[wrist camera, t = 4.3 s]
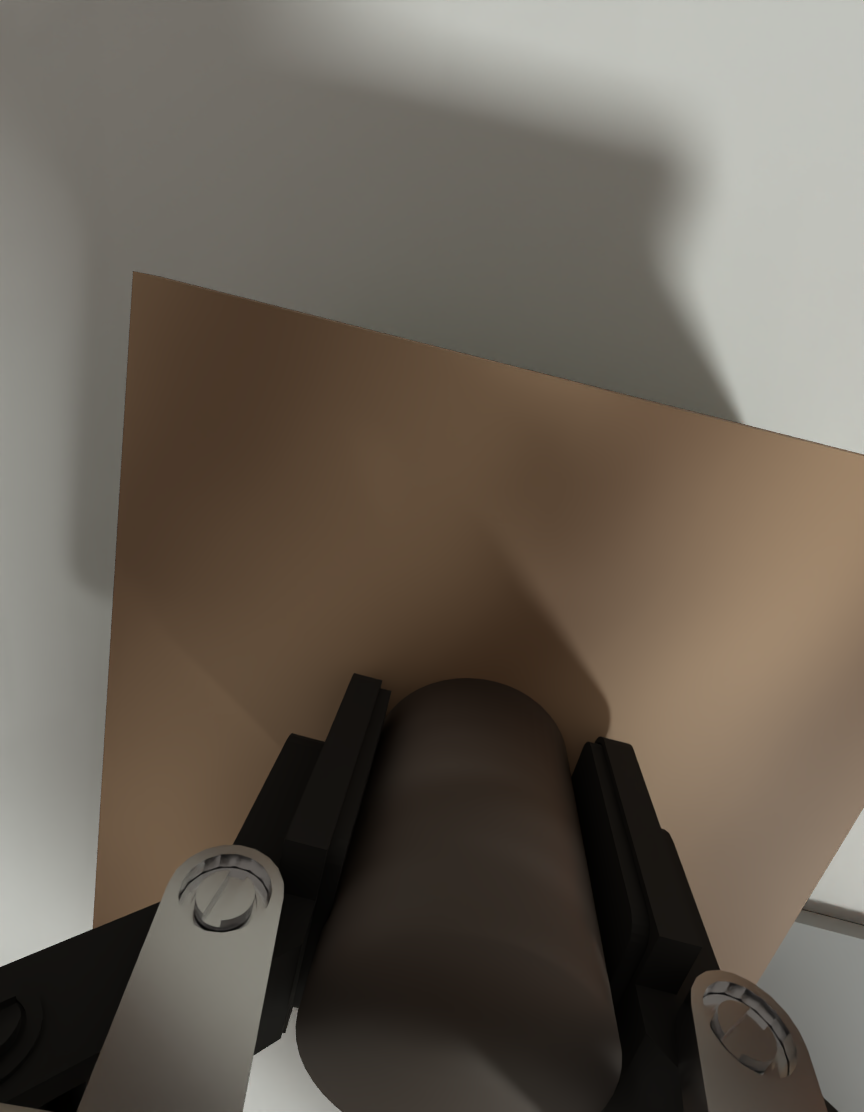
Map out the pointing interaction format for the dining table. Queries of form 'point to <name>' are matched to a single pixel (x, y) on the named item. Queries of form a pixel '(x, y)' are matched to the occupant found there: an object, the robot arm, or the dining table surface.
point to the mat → (825, 1000)
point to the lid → (471, 672)
